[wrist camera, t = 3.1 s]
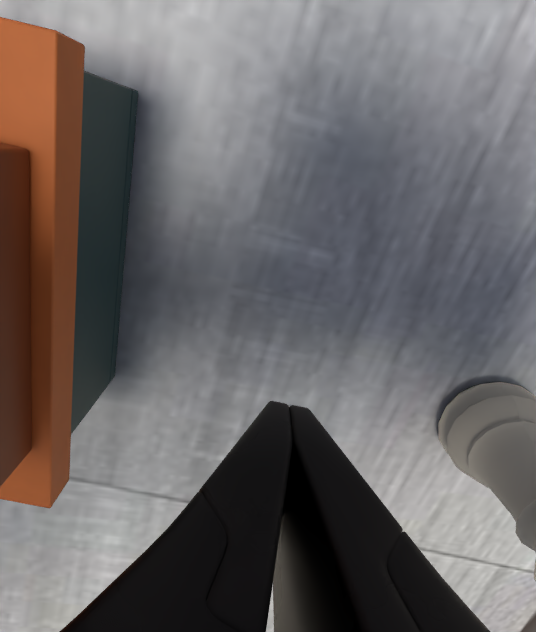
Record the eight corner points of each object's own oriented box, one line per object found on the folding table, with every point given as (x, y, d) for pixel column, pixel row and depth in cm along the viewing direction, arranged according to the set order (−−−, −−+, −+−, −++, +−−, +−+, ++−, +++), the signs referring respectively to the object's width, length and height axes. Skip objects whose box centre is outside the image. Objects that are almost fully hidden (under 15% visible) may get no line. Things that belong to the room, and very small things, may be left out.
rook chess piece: (443, 374, 18) (555, 537, 10) (548, 377, 18) (739, 545, 10) (426, 456, 19) (513, 645, 12) (522, 459, 19) (669, 653, 12)
